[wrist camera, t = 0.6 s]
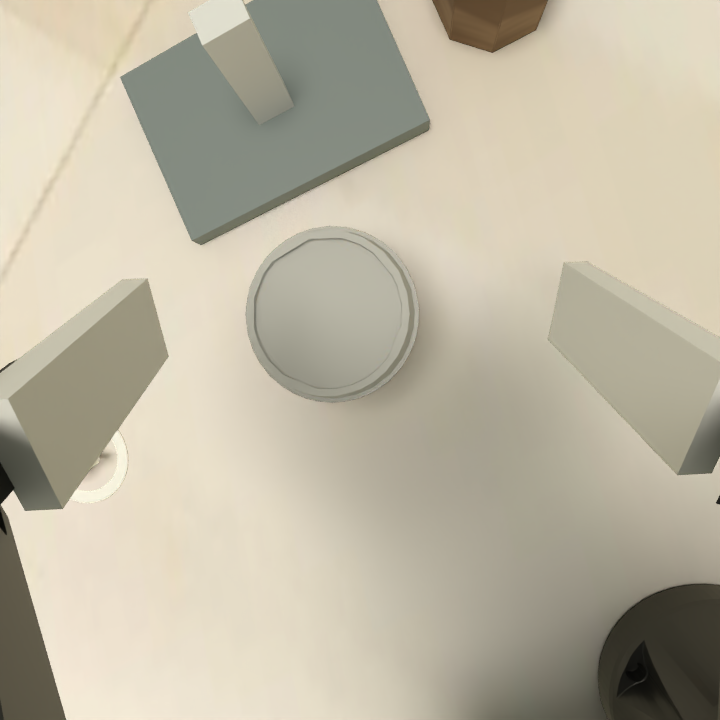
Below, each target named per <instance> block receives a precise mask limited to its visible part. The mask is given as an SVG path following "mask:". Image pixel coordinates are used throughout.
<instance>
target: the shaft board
mask: <svg viewBox="0 0 720 720" xmlns="http://www.w3.org/2000/svg"><path fill="white" fill-rule="evenodd" d="M188 14H189V16H190V19H191V21H192V23H193V25H194V28H195V30H196V32H197V33H196V34H194V35H192V36H191V37H189V38H187V39H185V40H184V41H182V42H180V43H178V44H177V45H175V46H173V47H171V48H170V49H168V50H166V51H165V52H163V53H161V54H159V55H158V56H156V57H154V58H152V59H151V60H149V61H147V62H145V63H144V64H142V65H140V66H139V67H137V68H135V69H133V70H132V71H130V72H128V73H126V74H125V75H123V76H121V77H120V78H121V80H122V83H123V85H124V87H125V89H126V92H127V94H128V96H129V98H130V101H131V103H132V105H133V108H134V110H135V112H136V114H137V117H138V119H139V121H140V124H141V126H142V128H143V130H144V133H145V135H146V137H147V140H148V142H149V144H150V146H151V149H152V151H153V153H154V156H155V158H156V160H157V162H158V165H159V167H160V169H161V172H162V174H163V176H164V178H165V181H166V183H167V185H168V188H169V190H170V192H171V194H172V197H173V199H174V201H175V203H176V206H177V208H178V210H179V213H180V215H181V217H182V219H183V222H184V224H185V226H186V229H187V231H188V233H189V235H190V238H191V240H192V241H194V242H196V243H198V244H200V245H202V244H204V243H206V242H208V241H209V240H211V239H213V238H215V237H217V236H219V235H221V234H223V233H225V232H227V231H229V230H231V229H233V228H235V227H237V226H239V225H241V224H243V223H245V222H247V221H249V220H251V219H253V218H255V217H257V216H259V215H261V214H263V213H265V212H267V211H269V210H271V209H273V208H275V207H277V206H279V205H281V204H283V203H285V202H287V201H289V200H291V199H293V198H295V197H297V196H299V195H301V194H303V193H305V192H307V191H309V190H311V189H313V188H315V187H317V186H319V185H321V184H323V183H324V182H326V181H328V180H330V179H332V178H334V177H336V176H338V175H340V174H342V173H344V172H346V171H348V170H350V169H352V168H354V167H356V166H358V165H360V164H362V163H364V162H366V161H368V160H370V159H372V158H374V157H376V156H378V155H380V154H382V153H384V152H386V151H388V150H390V149H392V148H394V147H396V146H398V145H400V144H402V143H404V142H406V141H408V140H410V139H412V138H414V137H416V136H418V135H420V134H422V133H424V132H426V131H428V130H429V124H430V119H429V117H428V115H427V112H426V110H425V108H424V106H423V103H422V101H421V99H420V97H419V94H418V92H417V90H416V88H415V85H414V83H413V81H412V79H411V76H410V74H409V72H408V70H407V67H406V65H405V63H404V60H403V58H402V56H401V54H400V51H399V49H398V47H397V45H396V42H395V40H394V38H393V36H392V33H391V31H390V29H389V27H388V24H387V22H386V20H385V18H384V15H383V13H382V11H381V9H380V6H379V4H378V2H377V0H253V1H251V2H249V3H248V4H246V5H245V3H244V1H243V0H209V1H207V2H205V3H203V4H202V5H200V6H198V7H197V8H195V9H193V10H191V11H190V12H188Z"/></svg>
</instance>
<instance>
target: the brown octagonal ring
mask: <svg viewBox="0 0 720 720" xmlns="http://www.w3.org/2000/svg"><path fill="white" fill-rule="evenodd" d="M547 1H548V0H433V2H434V5H435V7H436V9H437V11H438V14H439V16H440V18H441V20H442V23H443V25H444V27H445V29H446V32H447V34H448V36H449V39H450V40H454V41H457V42H460V43H464V44H467V45H470V46H473V47H476V48H480V49H483V50H486V51H489V52H494V51H496V50H498V49H500V48H502V47H504V46H506V45H508V44H510V43H512V42H514V41H515V40H517V39H519V38H521V37H523V36H525V35H527V34H529V33H531V32H533V31H535V30H536V29H537V26H538V24H539V21H540V19H541V16H542V14H543V11H544V9H545V6H546V4H547Z"/></svg>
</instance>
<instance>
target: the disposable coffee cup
mask: <svg viewBox="0 0 720 720" xmlns="http://www.w3.org/2000/svg"><path fill="white" fill-rule="evenodd" d="M418 321H419V305H418V300H417V295H416V290H415V286H414V283H413V281H412V279H411V277H410V275H409V272H408V270H407V268H406V267H405V266H404V264H403V263H402V261H401V260H400V259H399V257H398V256H397V254H395V253H394V252H393V251H392V250H391V249H390V248H389V247H387V246H386V245H385V244H384V243H383V242H382V241H380V240H378V239H376V238H375V237H373V236H371V235H369V234H367V233H366V232H362V231H359V230H355V229H351V228H348V227H337V226H326V227H319V228H312V229H309V230H306V231H304V232H301V233H298V234H296V235H294V236H292V237H291V238H289V239H287V240H285V241H284V242H283V243H281V244H280V245H279V246H278V247H277V248H275V249H274V250H273V251H272V252H271V253H270V254H269V255H268V256H267V257H266V259H265V260H264V261H263V263H262V264H261V266H260V267H259V269H258V270H257V272H256V275H255V277H254V279H253V281H252V283H251V286H250V288H249V294H248V297H247V305H246V324H247V331H248V336H249V339H250V342H251V345H252V348H253V351H254V353H255V354H256V356H257V358H258V360H259V362H260V364H261V365H262V366H263V367H264V369H265V370H266V371H267V373H268V374H269V375H270V376H271V377H272V378H273V379H274V380H275V381H277V382H278V383H279V384H280V385H281V386H283V387H284V388H286V389H287V390H289V391H291V392H292V393H294V394H297V395H299V396H302V397H304V398H306V399H310V400H315V401H320V402H331V403H332V402H345V401H350V400H354V399H357V398H360V397H363V396H366V395H368V394H370V393H371V392H373V391H375V390H377V389H379V388H380V387H381V386H383V385H384V384H385V383H387V382H388V381H389V380H390V379H391V378H392V377H393V376H394V375H395V374H396V373H397V372H398V370H399V369H400V368H401V367H402V366H403V364H404V362H405V361H406V359H407V357H408V356H409V354H410V352H411V349H412V347H413V344H414V342H415V339H416V334H417V329H418Z"/></svg>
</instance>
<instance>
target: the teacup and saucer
mask: <svg viewBox="0 0 720 720" xmlns="http://www.w3.org/2000/svg"><path fill="white" fill-rule="evenodd" d="M111 440H112V441H113V443H114V445H115V448H116V452H117V466H116V470H115V473H114V475H113V477H112V478H111V480H110V481H109V482H108V483H107V484H106V485H105V486H103V487H102V488H100V489H97V490H94V491H82V490H78V489H76V490H75V492H74V493H73V495H72V496H71V498H70V499H71V500H74V501H76V502H81V503H95V502H99V501H102V500H104V499H106V498H108V497H110V496H111V495H112V494H114V493H115V492H116V491H117V490H118V488H119V487H120V486H121V484H122V482H123V481H124V478H125V476H126V473H127V468H128V452H127V447H126V444H125V441H124V439H123V437H122V435H121V433H120V432H119V431H118V430H117V431H116V433H115V434H114V436H113V437H112V439H111ZM98 463H99V457H98V459H97V460H96V462H95V463H94V465H93V466H95V465H96V464H98ZM93 466H92V467H93ZM92 467H91V468H92Z"/></svg>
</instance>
